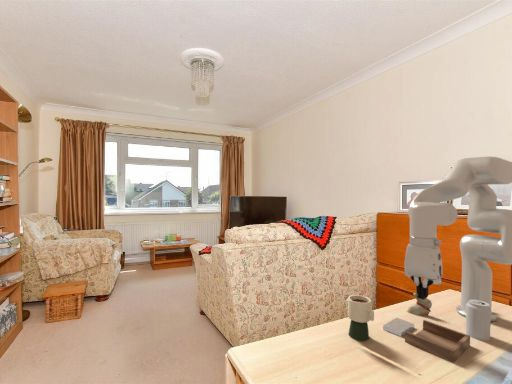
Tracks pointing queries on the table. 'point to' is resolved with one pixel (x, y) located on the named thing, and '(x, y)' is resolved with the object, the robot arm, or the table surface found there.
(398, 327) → the concrete block
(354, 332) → the character mug
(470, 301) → the beverage can
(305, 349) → the table surface
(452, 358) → the walnut box
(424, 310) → the grey figurine
